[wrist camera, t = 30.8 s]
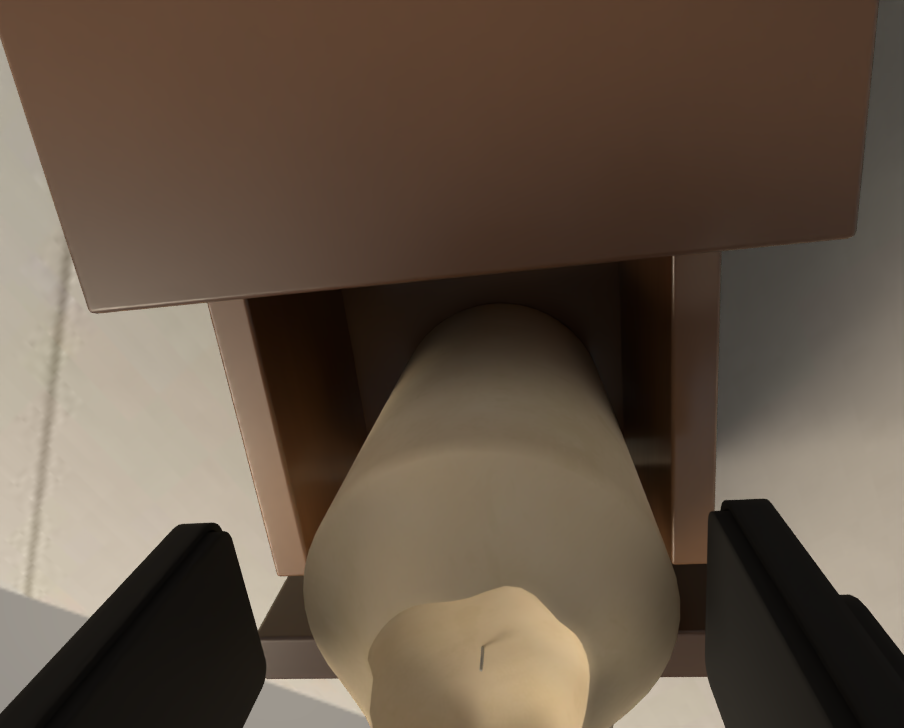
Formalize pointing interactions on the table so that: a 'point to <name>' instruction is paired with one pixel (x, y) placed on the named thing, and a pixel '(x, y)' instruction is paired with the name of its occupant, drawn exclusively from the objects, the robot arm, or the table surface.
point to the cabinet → (432, 135)
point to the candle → (494, 542)
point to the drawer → (385, 357)
